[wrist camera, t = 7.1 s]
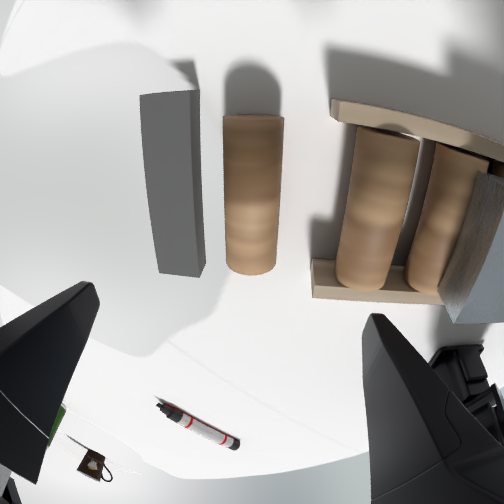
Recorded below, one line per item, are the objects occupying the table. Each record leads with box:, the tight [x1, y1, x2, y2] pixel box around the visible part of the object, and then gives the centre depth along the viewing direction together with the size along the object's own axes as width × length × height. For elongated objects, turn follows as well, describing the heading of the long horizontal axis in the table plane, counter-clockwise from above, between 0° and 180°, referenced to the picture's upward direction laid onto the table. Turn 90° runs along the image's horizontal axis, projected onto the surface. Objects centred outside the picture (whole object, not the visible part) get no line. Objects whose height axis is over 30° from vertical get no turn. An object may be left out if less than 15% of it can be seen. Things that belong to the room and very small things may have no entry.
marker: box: [156, 403, 240, 450], centre depth 37 cm, size 15×2×2 cm, turn 43°
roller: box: [223, 114, 284, 275], centre depth 17 cm, size 9×3×3 cm, turn 179°
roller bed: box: [310, 99, 504, 305], centre depth 15 cm, size 12×21×4 cm, turn 89°
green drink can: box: [46, 403, 66, 449], centre depth 42 cm, size 5×5×12 cm
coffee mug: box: [77, 449, 113, 482], centre depth 67 cm, size 12×9×10 cm
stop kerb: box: [140, 90, 206, 278], centre depth 18 cm, size 12×3×2 cm, turn 179°
